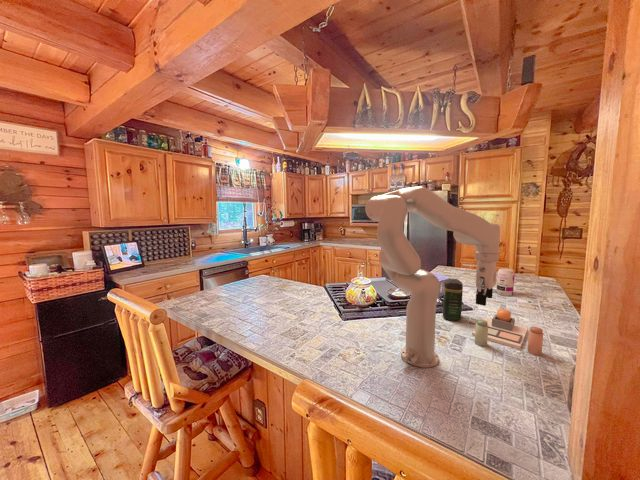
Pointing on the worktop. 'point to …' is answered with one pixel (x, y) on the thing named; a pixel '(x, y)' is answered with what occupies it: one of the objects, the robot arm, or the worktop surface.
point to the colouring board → (505, 332)
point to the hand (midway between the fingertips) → (484, 300)
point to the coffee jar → (452, 299)
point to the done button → (503, 315)
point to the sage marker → (481, 333)
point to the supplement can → (505, 282)
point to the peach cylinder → (535, 341)
